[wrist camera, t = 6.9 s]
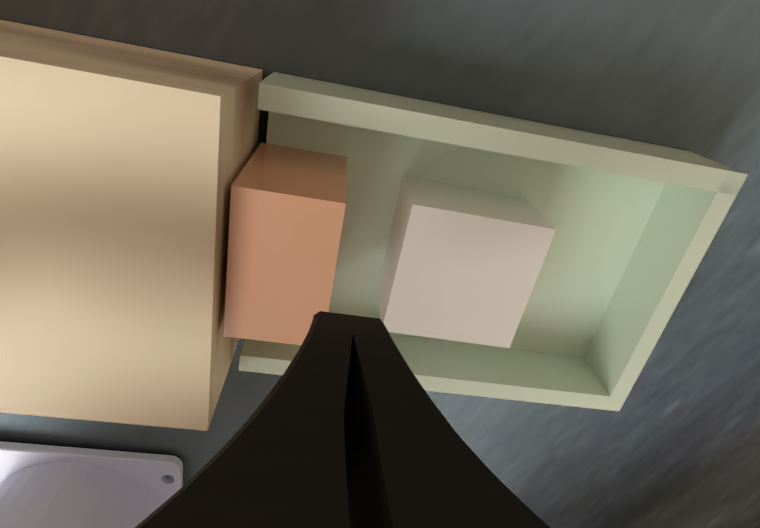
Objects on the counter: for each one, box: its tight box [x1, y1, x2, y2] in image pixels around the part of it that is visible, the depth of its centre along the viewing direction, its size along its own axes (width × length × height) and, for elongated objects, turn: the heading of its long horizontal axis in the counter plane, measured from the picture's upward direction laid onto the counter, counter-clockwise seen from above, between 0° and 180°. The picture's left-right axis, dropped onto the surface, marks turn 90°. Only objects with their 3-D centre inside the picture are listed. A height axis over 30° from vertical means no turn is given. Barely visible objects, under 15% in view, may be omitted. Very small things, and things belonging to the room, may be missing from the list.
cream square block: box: [377, 176, 556, 348], centre depth 15 cm, size 4×4×2 cm
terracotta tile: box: [224, 142, 347, 345], centre depth 13 cm, size 4×4×2 cm
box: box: [239, 72, 748, 411], centre depth 15 cm, size 9×13×2 cm, turn 79°
